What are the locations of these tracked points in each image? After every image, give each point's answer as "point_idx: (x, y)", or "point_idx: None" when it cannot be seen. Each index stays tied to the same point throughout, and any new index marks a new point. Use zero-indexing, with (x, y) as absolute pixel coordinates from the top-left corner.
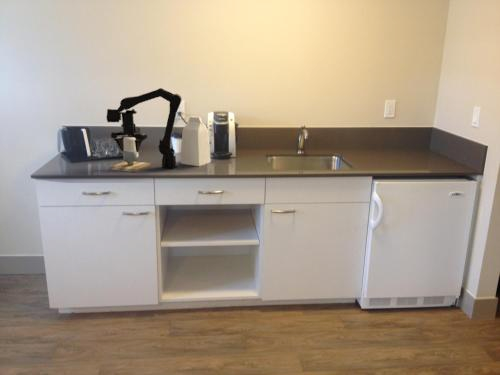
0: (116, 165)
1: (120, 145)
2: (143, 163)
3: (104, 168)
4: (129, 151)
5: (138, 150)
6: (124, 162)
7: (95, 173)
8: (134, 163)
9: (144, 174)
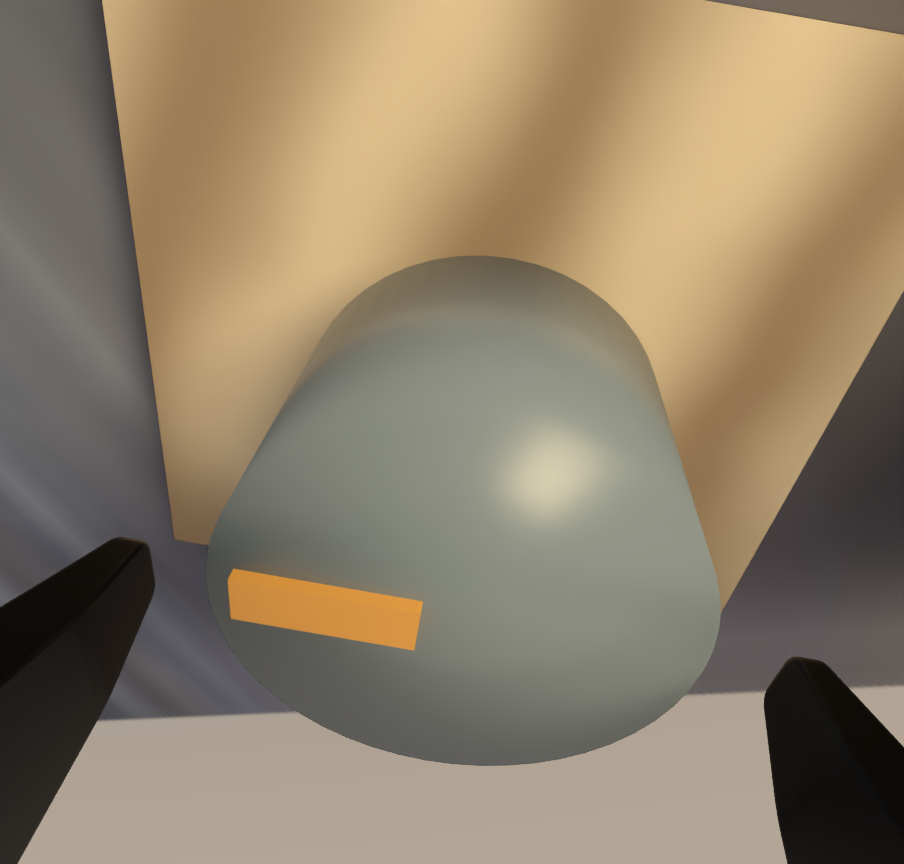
0: (223, 443)
1: (13, 849)
2: (785, 154)
3: (60, 451)
4: (463, 654)
5: (854, 725)
6: (212, 147)
7: (160, 671)
8: (524, 207)
9: (853, 668)
